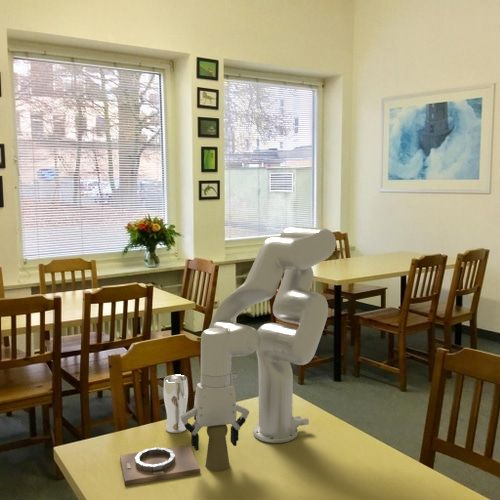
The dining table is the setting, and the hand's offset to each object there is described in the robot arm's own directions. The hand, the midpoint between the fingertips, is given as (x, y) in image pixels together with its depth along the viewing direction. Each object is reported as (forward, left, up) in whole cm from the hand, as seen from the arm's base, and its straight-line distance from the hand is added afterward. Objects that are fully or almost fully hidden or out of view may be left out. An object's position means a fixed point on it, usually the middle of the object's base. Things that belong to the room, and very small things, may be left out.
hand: (214, 446), depth 138 cm
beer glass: (+5, -24, -6) cm, 26 cm away
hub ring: (+14, -4, -4) cm, 15 cm away
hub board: (+13, -4, -5) cm, 15 cm away
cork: (-1, 0, -6) cm, 6 cm away
